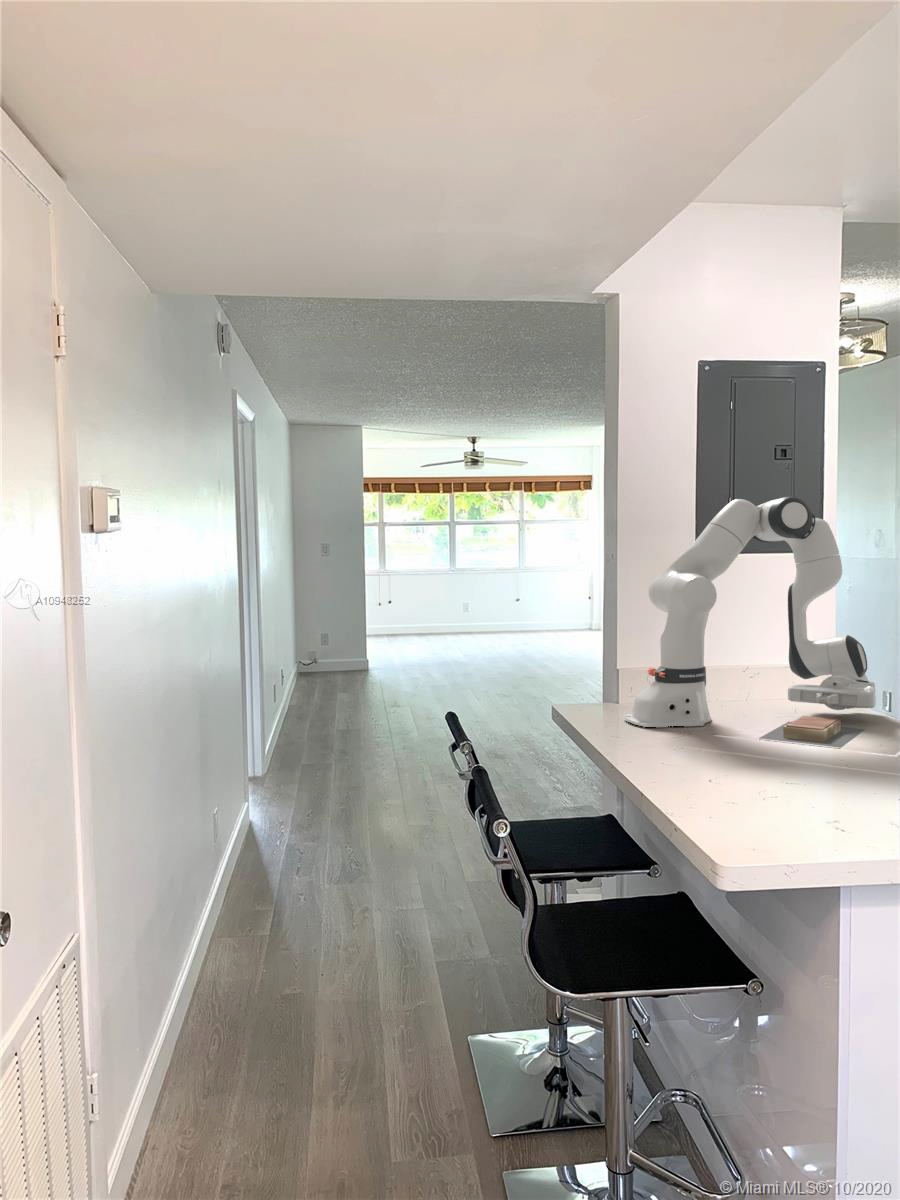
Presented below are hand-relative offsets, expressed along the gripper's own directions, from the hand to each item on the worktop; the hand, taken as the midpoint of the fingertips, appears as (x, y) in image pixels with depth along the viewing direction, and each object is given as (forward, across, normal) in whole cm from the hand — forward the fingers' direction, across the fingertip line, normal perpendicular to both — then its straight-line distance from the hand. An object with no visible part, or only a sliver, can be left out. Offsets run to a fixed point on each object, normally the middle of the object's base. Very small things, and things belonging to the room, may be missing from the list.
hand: (822, 700), depth 206 cm
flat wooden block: (+2, 0, +5) cm, 6 cm away
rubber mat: (+8, 0, +7) cm, 11 cm away
